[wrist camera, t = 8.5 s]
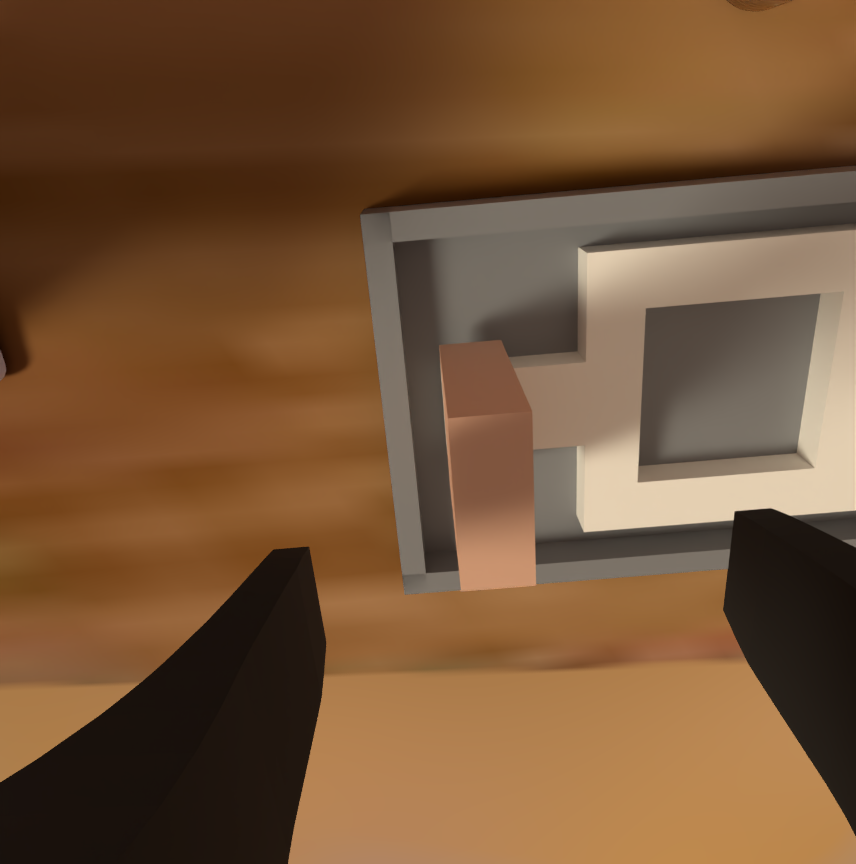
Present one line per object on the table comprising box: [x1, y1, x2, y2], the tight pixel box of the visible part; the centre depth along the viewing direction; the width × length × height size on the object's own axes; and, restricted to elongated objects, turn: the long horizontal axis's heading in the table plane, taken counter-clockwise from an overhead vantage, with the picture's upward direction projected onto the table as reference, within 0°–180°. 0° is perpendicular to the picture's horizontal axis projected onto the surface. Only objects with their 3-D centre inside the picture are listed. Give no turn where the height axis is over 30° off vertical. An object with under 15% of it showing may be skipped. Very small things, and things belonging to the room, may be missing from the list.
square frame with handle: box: [439, 223, 856, 591], centre depth 16 cm, size 12×8×6 cm
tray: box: [360, 165, 856, 595], centre depth 19 cm, size 16×11×2 cm
